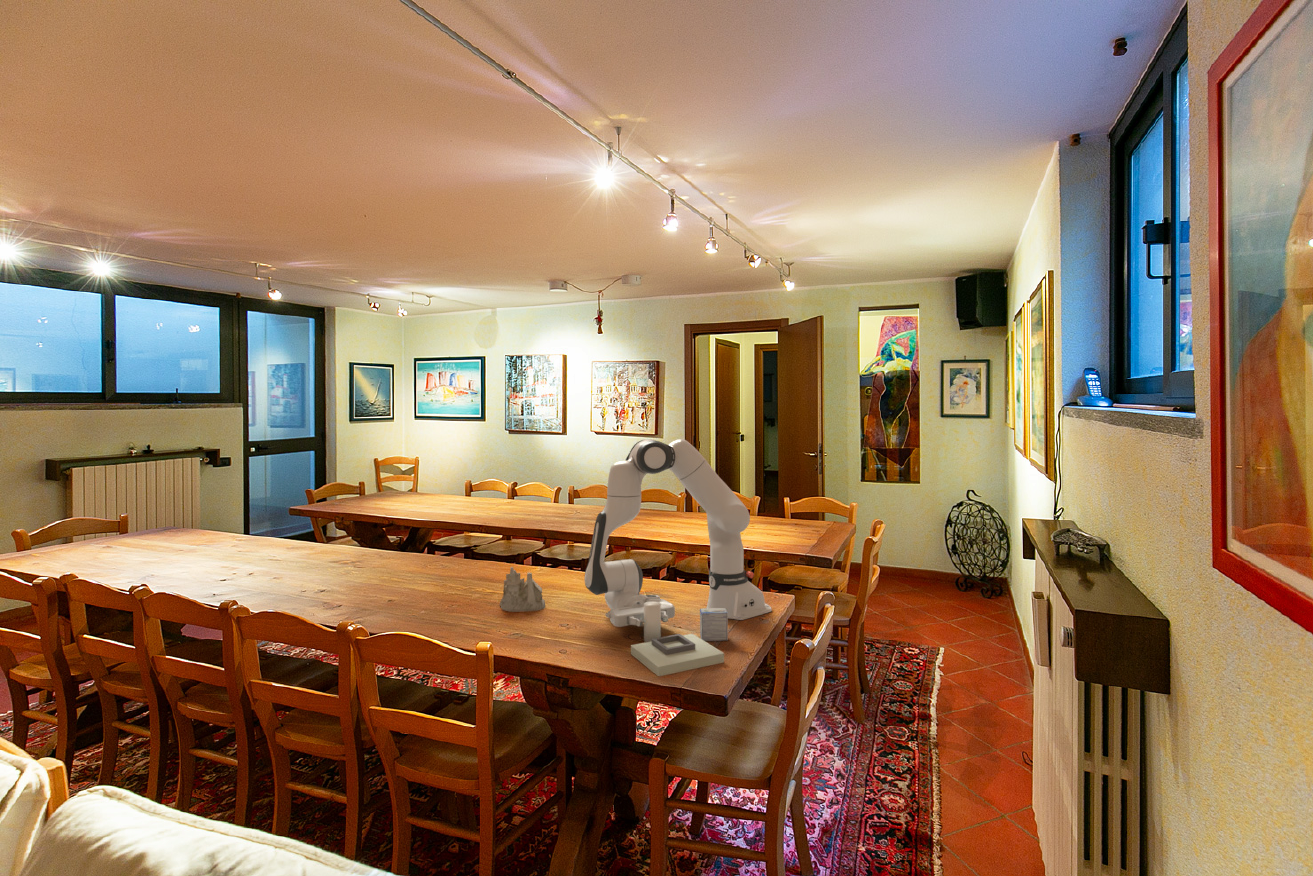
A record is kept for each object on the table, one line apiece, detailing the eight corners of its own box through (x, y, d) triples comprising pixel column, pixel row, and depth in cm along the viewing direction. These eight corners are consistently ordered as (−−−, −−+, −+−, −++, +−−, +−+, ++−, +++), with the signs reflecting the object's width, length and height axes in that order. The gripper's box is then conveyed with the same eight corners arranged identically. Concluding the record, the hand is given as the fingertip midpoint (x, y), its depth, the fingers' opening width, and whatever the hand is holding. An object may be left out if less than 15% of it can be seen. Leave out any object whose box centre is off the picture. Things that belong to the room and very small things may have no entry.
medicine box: (725, 635, 195) (725, 607, 195) (728, 641, 191) (728, 612, 190) (699, 636, 195) (699, 608, 195) (701, 641, 191) (701, 612, 190)
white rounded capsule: (656, 636, 195) (655, 600, 194) (663, 642, 190) (663, 605, 190) (641, 639, 193) (640, 603, 192) (648, 644, 188) (648, 607, 188)
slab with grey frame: (692, 642, 190) (692, 628, 190) (724, 662, 175) (724, 647, 175) (630, 654, 181) (630, 640, 181) (658, 676, 166) (658, 661, 166)
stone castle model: (542, 611, 219) (540, 567, 219) (494, 613, 219) (492, 569, 219) (550, 600, 235) (548, 559, 235) (505, 602, 235) (503, 561, 235)
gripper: (603, 603, 198) (621, 616, 186) (662, 594, 207) (683, 606, 195) (603, 623, 198) (621, 637, 186) (662, 613, 207) (683, 626, 195)
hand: (653, 621), depth 190 cm, fingers open, 7 cm apart
